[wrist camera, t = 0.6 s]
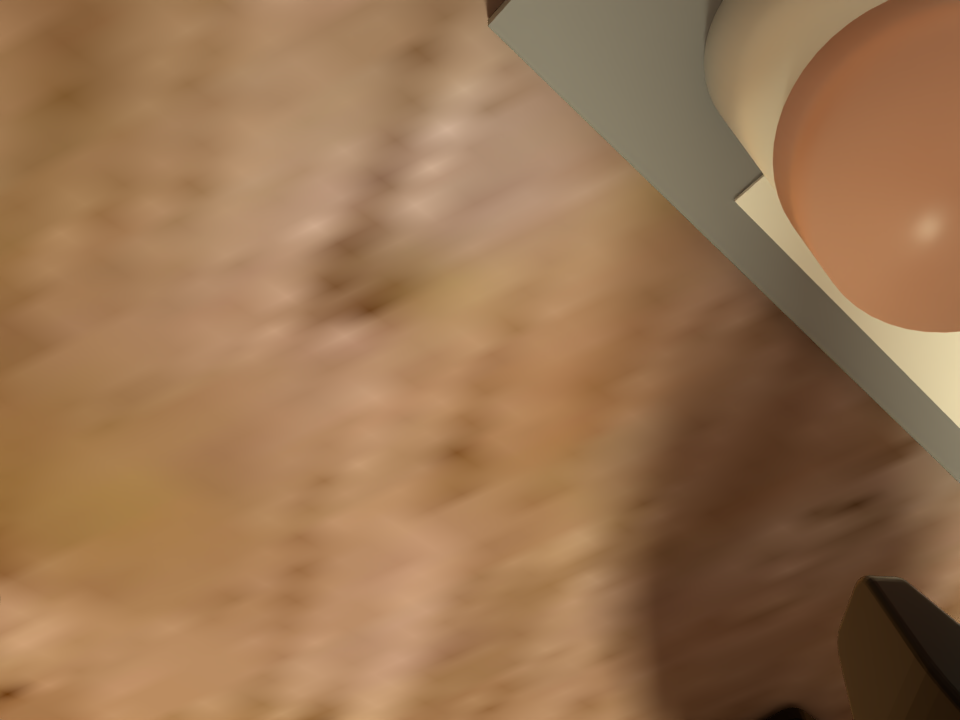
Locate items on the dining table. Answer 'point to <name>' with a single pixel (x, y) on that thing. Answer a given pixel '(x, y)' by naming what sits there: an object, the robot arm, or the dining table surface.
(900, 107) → the marker
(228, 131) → the dining table surface
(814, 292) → the colouring board
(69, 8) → the dining table surface
